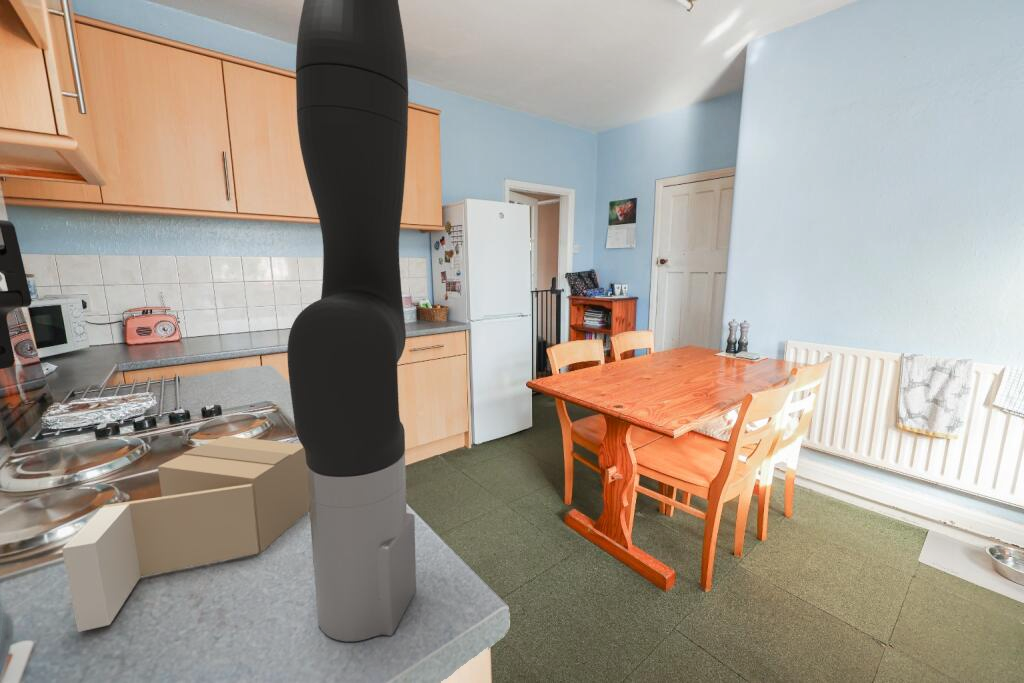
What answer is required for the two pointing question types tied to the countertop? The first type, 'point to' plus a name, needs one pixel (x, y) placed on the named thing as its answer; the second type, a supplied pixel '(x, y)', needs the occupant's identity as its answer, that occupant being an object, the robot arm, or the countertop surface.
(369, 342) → the robot arm
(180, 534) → the carton flap
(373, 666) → the countertop surface
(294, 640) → the countertop surface
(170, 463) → the kraft carton
